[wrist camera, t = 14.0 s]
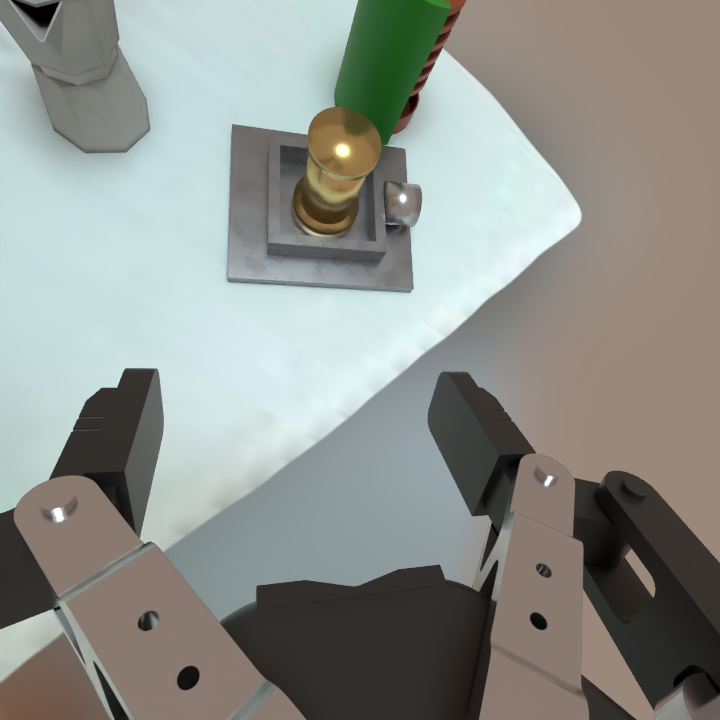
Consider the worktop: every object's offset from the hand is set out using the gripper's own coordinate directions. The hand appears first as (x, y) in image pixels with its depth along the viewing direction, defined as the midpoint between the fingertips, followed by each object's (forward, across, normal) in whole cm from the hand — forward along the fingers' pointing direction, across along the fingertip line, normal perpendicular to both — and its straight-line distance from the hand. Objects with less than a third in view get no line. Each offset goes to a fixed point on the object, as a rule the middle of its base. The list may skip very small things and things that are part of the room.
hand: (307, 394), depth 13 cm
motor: (+45, -12, -6) cm, 47 cm away
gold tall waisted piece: (+34, -6, +3) cm, 35 cm away
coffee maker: (+42, +15, -2) cm, 45 cm away
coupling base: (+35, -6, +4) cm, 36 cm away
